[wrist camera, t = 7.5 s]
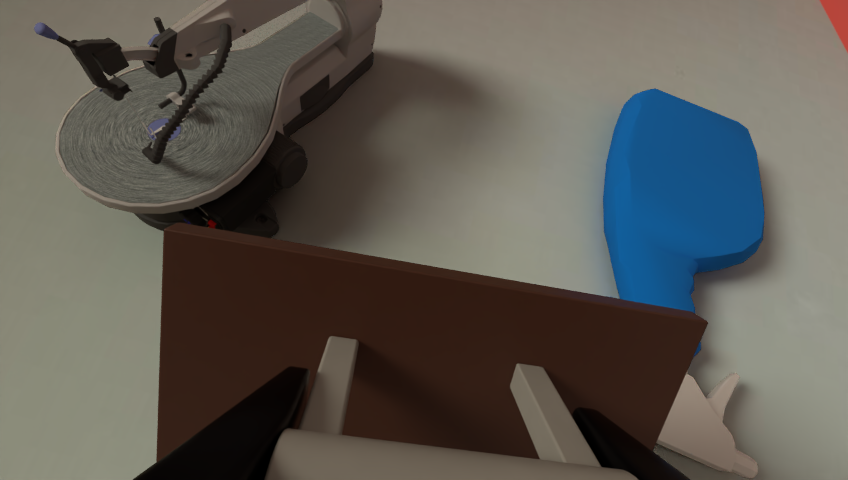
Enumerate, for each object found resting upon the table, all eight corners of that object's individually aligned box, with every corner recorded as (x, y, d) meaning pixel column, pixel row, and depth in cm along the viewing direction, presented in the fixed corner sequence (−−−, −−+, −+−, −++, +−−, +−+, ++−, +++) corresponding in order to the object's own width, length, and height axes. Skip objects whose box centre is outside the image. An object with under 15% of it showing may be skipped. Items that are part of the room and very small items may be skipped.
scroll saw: (281, -171, 22) (458, -74, 20) (299, 14, 31) (422, 88, 30) (-178, -31, 12) (101, 167, 11) (45, 176, 21) (211, 297, 20)
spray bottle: (632, 75, 30) (585, 405, 18) (768, 129, 30) (808, 496, 18) (609, 104, 33) (555, 409, 21) (734, 154, 33) (750, 489, 21)
